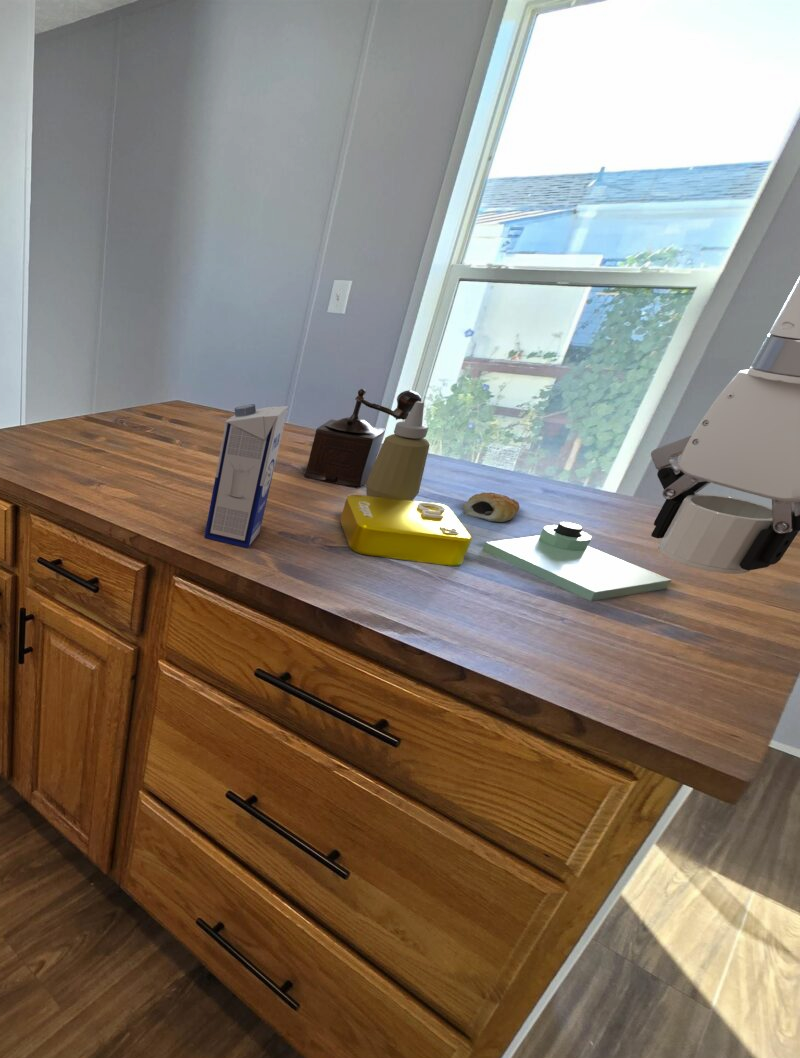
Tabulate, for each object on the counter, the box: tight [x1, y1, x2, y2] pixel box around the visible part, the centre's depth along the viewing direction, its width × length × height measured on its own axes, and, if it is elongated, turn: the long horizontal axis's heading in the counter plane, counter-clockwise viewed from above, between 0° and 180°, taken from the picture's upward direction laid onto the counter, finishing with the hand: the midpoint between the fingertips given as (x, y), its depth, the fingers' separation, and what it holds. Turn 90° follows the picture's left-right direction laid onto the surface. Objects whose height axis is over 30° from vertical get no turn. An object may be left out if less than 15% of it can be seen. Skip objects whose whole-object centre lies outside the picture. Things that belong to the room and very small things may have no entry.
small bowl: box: [657, 493, 773, 575], centre depth 64 cm, size 7×7×6 cm
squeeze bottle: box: [365, 401, 430, 501], centre depth 109 cm, size 8×8×18 cm
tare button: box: [555, 521, 583, 538], centre depth 97 cm, size 3×3×2 cm
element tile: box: [340, 494, 473, 567], centre depth 100 cm, size 15×15×5 cm
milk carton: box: [204, 403, 289, 549], centre depth 97 cm, size 7×7×20 cm
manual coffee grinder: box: [304, 388, 422, 488], centre depth 122 cm, size 16×11×18 cm
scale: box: [481, 524, 673, 602], centre depth 93 cm, size 16×14×3 cm
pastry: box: [461, 491, 520, 523], centre depth 110 cm, size 9×7×4 cm
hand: (707, 549), depth 64 cm, fingers closed on small bowl, 6 cm apart
